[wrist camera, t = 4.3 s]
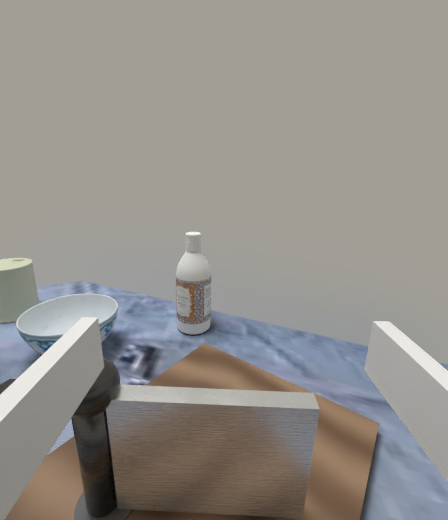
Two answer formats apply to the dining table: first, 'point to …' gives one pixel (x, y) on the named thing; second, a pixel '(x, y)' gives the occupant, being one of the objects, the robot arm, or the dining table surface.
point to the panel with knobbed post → (194, 448)
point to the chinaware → (64, 318)
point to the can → (16, 288)
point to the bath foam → (193, 288)
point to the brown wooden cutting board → (314, 516)
